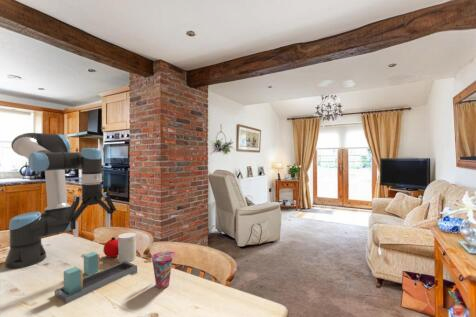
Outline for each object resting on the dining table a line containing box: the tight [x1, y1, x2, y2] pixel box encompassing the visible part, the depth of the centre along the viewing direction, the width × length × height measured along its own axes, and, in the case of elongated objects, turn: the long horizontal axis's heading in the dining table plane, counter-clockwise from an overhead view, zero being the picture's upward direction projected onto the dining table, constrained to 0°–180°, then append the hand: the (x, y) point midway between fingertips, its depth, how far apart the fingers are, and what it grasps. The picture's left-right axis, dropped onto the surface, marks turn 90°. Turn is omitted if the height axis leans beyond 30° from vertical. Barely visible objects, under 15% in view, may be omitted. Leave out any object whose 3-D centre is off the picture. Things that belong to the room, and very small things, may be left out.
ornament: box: [102, 236, 118, 259], centre depth 123 cm, size 9×9×10 cm
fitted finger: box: [63, 266, 84, 295], centre depth 89 cm, size 4×5×9 cm
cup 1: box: [117, 232, 137, 263], centre depth 121 cm, size 8×8×12 cm
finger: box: [83, 251, 101, 277], centre depth 105 cm, size 4×5×9 cm
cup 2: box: [150, 251, 176, 289], centre depth 97 cm, size 9×8×12 cm
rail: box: [54, 261, 138, 305], centre depth 98 cm, size 9×28×3 cm, turn 148°
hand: (92, 231), depth 105 cm, fingers open, 13 cm apart
